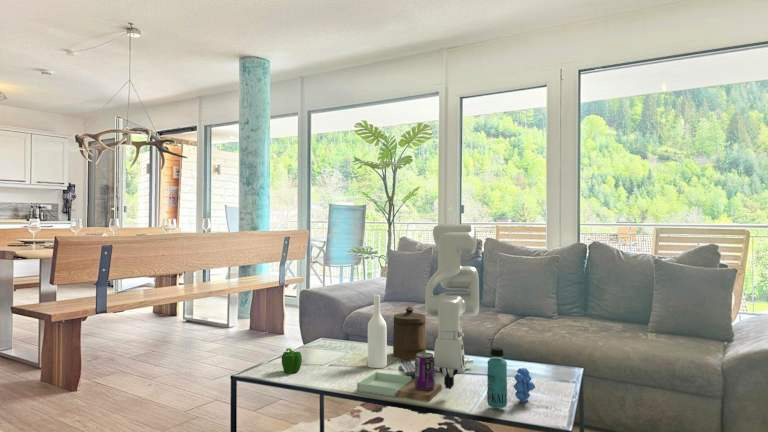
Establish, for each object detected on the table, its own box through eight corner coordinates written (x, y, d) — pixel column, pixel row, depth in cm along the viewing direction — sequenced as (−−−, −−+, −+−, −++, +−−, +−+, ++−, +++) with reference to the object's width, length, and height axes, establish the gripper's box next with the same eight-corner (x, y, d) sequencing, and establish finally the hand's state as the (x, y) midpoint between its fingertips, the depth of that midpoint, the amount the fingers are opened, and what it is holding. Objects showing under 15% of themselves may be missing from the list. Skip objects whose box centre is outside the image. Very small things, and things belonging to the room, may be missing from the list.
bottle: (388, 363, 224) (388, 293, 224) (384, 369, 216) (383, 296, 216) (370, 362, 226) (370, 293, 226) (365, 367, 218) (365, 296, 218)
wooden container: (431, 354, 239) (431, 306, 239) (415, 361, 227) (415, 311, 227) (403, 349, 247) (403, 303, 247) (386, 356, 235) (386, 308, 235)
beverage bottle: (492, 404, 175) (492, 344, 175) (511, 408, 171) (510, 347, 171) (483, 409, 170) (483, 348, 170) (502, 414, 166) (501, 351, 166)
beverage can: (433, 392, 181) (433, 357, 181) (413, 390, 183) (413, 356, 183) (435, 385, 188) (435, 352, 188) (416, 384, 190) (416, 351, 190)
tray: (411, 384, 196) (411, 376, 196) (395, 397, 182) (395, 388, 182) (375, 379, 202) (375, 371, 202) (357, 391, 189) (357, 382, 189)
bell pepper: (296, 367, 219) (296, 343, 219) (304, 372, 212) (304, 348, 212) (277, 371, 214) (277, 346, 214) (285, 376, 207) (285, 351, 207)
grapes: (529, 410, 169) (529, 373, 169) (509, 405, 173) (509, 369, 173) (541, 399, 179) (540, 364, 179) (521, 395, 183) (521, 361, 183)
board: (441, 389, 189) (441, 384, 189) (429, 401, 178) (429, 395, 178) (411, 385, 195) (411, 380, 195) (397, 396, 183) (397, 390, 183)
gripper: (472, 334, 181) (473, 387, 181) (432, 330, 188) (432, 381, 188) (466, 338, 175) (466, 393, 174) (424, 334, 181) (425, 387, 181)
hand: (449, 387), depth 181 cm, fingers closed
